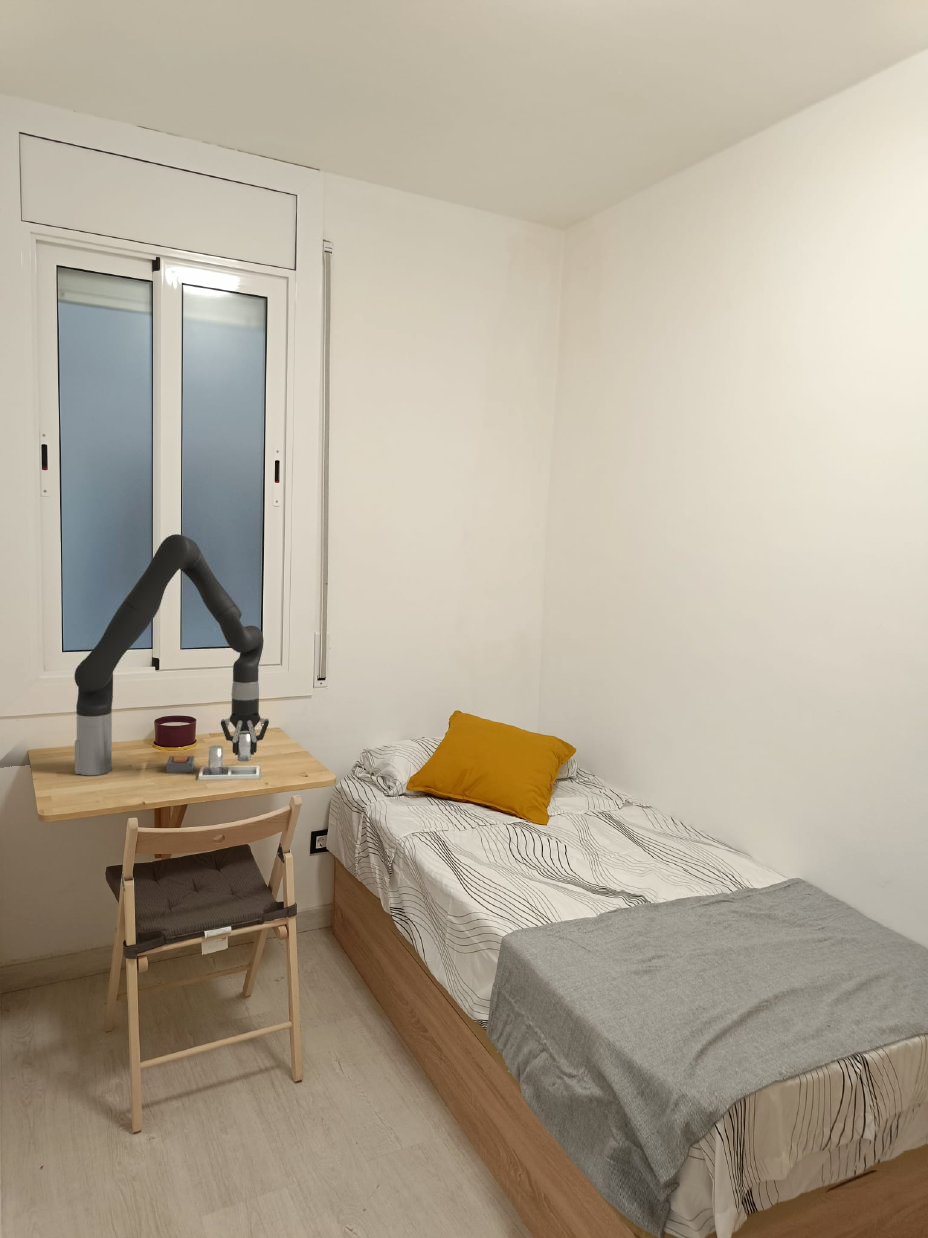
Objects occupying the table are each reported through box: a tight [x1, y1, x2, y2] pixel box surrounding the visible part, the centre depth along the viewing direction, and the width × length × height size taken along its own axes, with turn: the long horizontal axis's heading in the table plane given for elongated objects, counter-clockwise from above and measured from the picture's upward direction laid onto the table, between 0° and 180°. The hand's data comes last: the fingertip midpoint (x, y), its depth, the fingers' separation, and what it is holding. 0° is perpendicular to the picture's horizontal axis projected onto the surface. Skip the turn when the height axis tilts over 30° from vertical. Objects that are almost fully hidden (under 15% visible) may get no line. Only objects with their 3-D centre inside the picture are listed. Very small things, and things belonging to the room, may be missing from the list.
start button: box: [173, 755, 189, 762], centre depth 242 cm, size 4×4×2 cm
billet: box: [236, 731, 253, 763], centre depth 240 cm, size 4×4×8 cm
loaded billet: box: [207, 745, 224, 775], centre depth 239 cm, size 4×4×8 cm
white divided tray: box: [196, 765, 262, 782], centre depth 240 cm, size 17×10×2 cm, turn 103°
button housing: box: [165, 755, 195, 774], centre depth 242 cm, size 7×7×4 cm
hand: (244, 754), depth 241 cm, fingers closed on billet, 4 cm apart
